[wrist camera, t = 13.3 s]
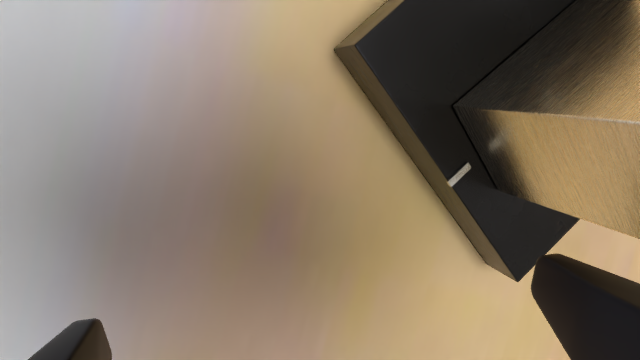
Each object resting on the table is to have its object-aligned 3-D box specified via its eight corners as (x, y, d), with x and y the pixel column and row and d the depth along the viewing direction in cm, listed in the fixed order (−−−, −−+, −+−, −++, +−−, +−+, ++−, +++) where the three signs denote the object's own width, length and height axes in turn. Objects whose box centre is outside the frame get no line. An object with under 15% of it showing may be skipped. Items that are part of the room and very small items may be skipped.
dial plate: (331, 50, 19) (354, 46, 16) (540, -136, 20) (590, -166, 18) (485, 265, 25) (519, 285, 22) (638, 112, 26) (685, 115, 24)
